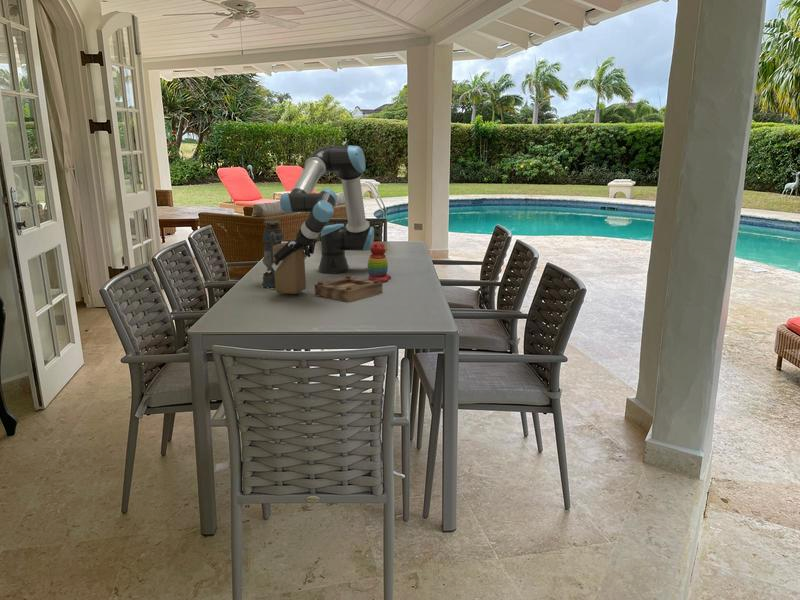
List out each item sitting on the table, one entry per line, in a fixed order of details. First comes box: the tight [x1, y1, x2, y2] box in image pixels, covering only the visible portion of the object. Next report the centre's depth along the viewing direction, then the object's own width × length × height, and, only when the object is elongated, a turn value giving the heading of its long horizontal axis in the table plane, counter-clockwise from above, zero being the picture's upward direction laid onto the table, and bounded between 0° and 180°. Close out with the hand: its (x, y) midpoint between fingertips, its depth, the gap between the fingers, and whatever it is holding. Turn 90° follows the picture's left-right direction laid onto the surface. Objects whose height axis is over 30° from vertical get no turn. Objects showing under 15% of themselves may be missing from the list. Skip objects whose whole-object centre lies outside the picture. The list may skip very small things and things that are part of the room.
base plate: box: [314, 274, 383, 303], centre depth 253 cm, size 20×20×6 cm
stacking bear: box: [367, 241, 392, 283], centre depth 279 cm, size 11×10×18 cm
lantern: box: [261, 218, 285, 289], centre depth 268 cm, size 19×14×30 cm
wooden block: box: [273, 242, 307, 295], centre depth 252 cm, size 10×10×20 cm
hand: (286, 266), depth 253 cm, fingers closed on wooden block, 12 cm apart
